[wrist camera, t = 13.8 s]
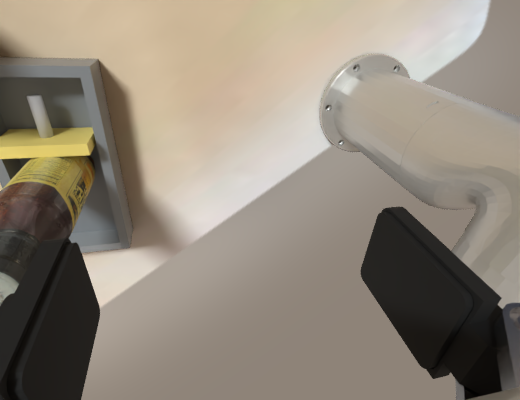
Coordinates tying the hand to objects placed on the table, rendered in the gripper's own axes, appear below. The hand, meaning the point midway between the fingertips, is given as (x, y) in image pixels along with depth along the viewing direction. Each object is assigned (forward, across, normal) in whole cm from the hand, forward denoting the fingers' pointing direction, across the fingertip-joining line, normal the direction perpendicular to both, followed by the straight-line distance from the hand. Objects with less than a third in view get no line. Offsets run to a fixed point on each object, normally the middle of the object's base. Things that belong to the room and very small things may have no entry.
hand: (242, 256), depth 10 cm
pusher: (+29, +15, +4) cm, 33 cm away
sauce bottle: (+30, +15, +10) cm, 34 cm away
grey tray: (+30, +15, +10) cm, 35 cm away
